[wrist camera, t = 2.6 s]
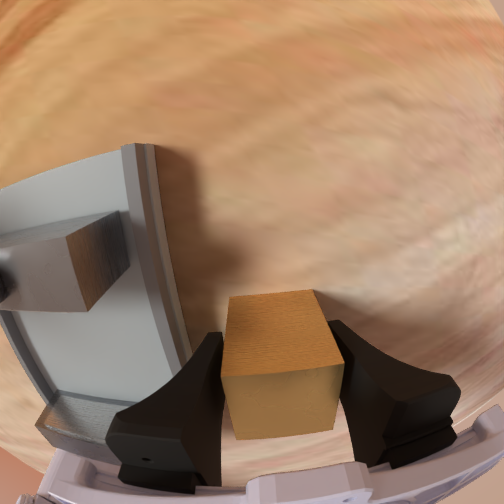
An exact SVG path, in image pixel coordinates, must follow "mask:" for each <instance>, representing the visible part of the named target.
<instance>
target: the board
mask: <svg viewBox="0 0 504 504" xmlns="http://www.w3.org/2000/svg"><path fill="white" fill-rule="evenodd" d="M115 210H119V212H120V218H121V223H122V229H123V234H124V238H125V243H126V248H127V252H128V257H129V261H130V265H131V266H130V267H129V268H128V269H127V270H126V271H125V272H124V273H123V274H122V275H121V277H120V278H119V279H118V280H117V281H116V282H115V283H114V284H113V285H112V286H111V287H110V288H109V289H108V290H107V291H106V293H105V294H104V295H103V296H102V297H101V298H100V299H99V300H98V301H97V302H96V303H95V305H94V306H93V307H92V308H91V309H90V310H89V311H88V312H74V313H63V312H31V311H11V310H0V323H1V326H2V328H3V330H4V332H5V334H6V336H7V338H8V340H9V342H10V344H11V346H12V348H13V350H14V352H15V354H16V356H17V358H18V360H19V361H20V363H21V365H22V367H23V368H24V370H25V372H26V374H27V375H28V377H29V379H30V380H31V382H32V383H33V385H34V387H35V388H36V390H37V391H38V393H39V394H40V396H41V397H42V399H43V400H44V402H45V403H46V404H48V402H49V401H50V399H51V398H52V396H53V394H54V393H55V391H56V390H57V389H59V390H64V391H68V392H73V393H78V394H84V395H89V396H95V397H102V398H109V399H116V400H124V401H134V402H140V401H142V400H143V399H145V398H147V397H148V396H150V395H151V394H153V393H154V392H156V391H157V390H158V389H160V388H161V387H162V386H164V385H165V384H166V383H167V382H168V381H170V380H171V379H172V378H173V377H174V376H175V375H176V374H177V373H178V372H179V371H180V370H181V368H182V367H183V366H184V365H185V364H186V363H187V362H188V360H189V359H190V358H191V357H192V355H193V353H192V349H191V346H190V342H189V338H188V334H187V330H186V326H185V322H184V318H183V314H182V309H181V305H180V301H179V296H178V292H177V287H176V282H175V278H174V273H173V268H172V263H171V258H170V252H169V247H168V241H167V236H166V230H165V224H164V218H163V212H162V205H161V198H160V191H159V184H158V176H157V168H156V159H155V150H154V144H139V143H133V144H129V145H124V146H121V149H120V150H115V151H111V152H108V153H104V154H100V155H96V156H93V157H89V158H86V159H82V160H79V161H76V162H72V163H69V164H66V165H63V166H60V167H57V168H54V169H51V170H48V171H45V172H43V173H40V174H37V175H34V176H32V177H29V178H27V179H24V180H22V181H19V182H17V183H14V184H12V185H9V186H7V187H5V188H2V189H0V235H2V234H6V233H10V232H14V231H18V230H22V229H26V228H30V227H35V226H39V225H43V224H48V223H52V222H57V221H62V220H67V219H72V218H77V217H82V216H87V215H92V214H98V213H103V212H109V211H115Z"/></svg>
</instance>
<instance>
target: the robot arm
mask: <svg viewBox="0 0 504 504" xmlns="http://www.w3.org/2000/svg"><path fill="white" fill-rule="evenodd" d="M327 324H328V326H329V328H330V330H331V333H332V335H333V337H334V339H335V342H336V344H337V346H338V349H339V351H340V353H341V356H342V358H343V360H344V363H345V365H344V371H343V378H342V384H341V390H340V396H339V398H340V401H341V403H342V406H343V409H344V412H345V416H346V420H347V424H348V428H349V432H350V437H351V442H352V447H353V453H354V458H355V461H353V462H345V463H339V464H334V465H329V466H324V467H318V468H312V469H306V470H299V471H291V472H281V473H273V474H267V475H261V476H258V477H256V478H253V479H251V480H250V481H248V483H247V485H246V487H222V482H221V425H222V416H223V409H224V402H225V393H224V389H223V385H222V380H221V368H222V359H223V350H224V341H223V336H222V332H210V333H208V334H207V336H206V337H205V339H204V340H203V342H202V343H201V344H200V346H199V347H198V349H197V350H196V351H195V353H194V354H193V355H192V357H191V358H190V359H189V360H188V362H187V363H186V364H185V365H184V366H183V367H182V368H181V370H180V371H179V372H178V373H177V374H176V375H175V376H174V377H173V378H172V379H171V380H170V381H168V382H167V383H166V384H165V385H164V386H162V387H161V388H160V389H158V390H157V391H156V392H154V393H153V394H151V395H150V396H148V397H147V398H145V399H143V400H142V401H140V402H138V403H136V404H134V405H132V406H130V407H128V408H126V409H124V410H122V411H119V412H117V413H116V414H115V416H114V418H113V419H112V422H111V424H110V427H109V429H108V432H107V434H106V437H105V442H106V444H107V446H108V447H109V449H110V450H111V451H112V452H113V453H114V455H115V456H116V457H117V458H118V459H119V460H120V461H121V463H122V464H121V466H117V465H113V464H108V463H104V462H100V461H97V460H93V459H90V458H86V457H83V456H80V455H76V454H73V453H70V452H67V451H64V450H62V449H59V448H57V449H56V451H55V453H54V455H53V457H52V460H51V462H50V464H49V466H48V468H47V470H46V473H45V475H44V477H43V480H42V482H41V484H40V487H39V489H38V491H37V494H36V495H33V496H31V495H29V494H26V495H25V494H24V495H20V497H19V498H18V500H17V502H16V504H436V503H438V502H439V501H441V500H443V499H445V498H446V497H448V496H450V495H451V494H453V493H455V492H456V491H458V490H460V489H461V488H463V487H465V486H466V485H468V484H469V483H471V482H472V481H474V480H476V479H477V478H478V477H480V476H482V475H483V474H485V473H486V472H487V471H489V470H490V469H492V468H493V467H494V466H495V465H496V464H497V463H498V462H499V461H500V460H501V459H502V458H503V457H504V412H503V411H502V409H501V408H500V406H499V405H498V404H496V405H494V406H493V407H491V408H490V409H488V410H486V411H485V412H483V413H482V414H480V415H479V416H478V417H477V418H476V420H475V421H474V423H473V425H472V426H471V427H469V428H467V429H465V430H463V431H462V432H460V433H458V434H456V433H455V432H454V430H453V428H452V426H451V425H452V423H453V420H452V418H451V417H450V415H451V413H452V412H453V410H454V408H455V407H456V405H457V403H458V401H459V398H460V395H461V390H460V388H459V387H458V385H457V384H456V382H455V381H454V380H453V378H452V377H451V376H450V375H446V374H440V373H435V372H430V371H426V370H423V369H419V368H416V367H413V366H411V365H408V364H406V363H403V362H401V361H399V360H396V359H394V358H392V357H390V356H389V355H387V354H385V353H383V352H381V351H380V350H378V349H377V348H375V347H374V346H372V345H371V344H369V343H368V342H366V341H365V340H364V339H362V338H361V337H360V336H358V335H357V334H356V333H354V332H353V331H352V330H351V329H350V328H348V327H347V326H346V325H345V324H344V323H342V322H341V321H340V320H334V321H327Z"/></svg>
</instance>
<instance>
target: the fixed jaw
mask: <svg viewBox="0 0 504 504" xmlns="http://www.w3.org/2000/svg"><path fill="white" fill-rule="evenodd" d="M136 403H138V402H134V401H124V400H116V399H109V398H102V397H95V396H89V395H84V394H78V393H73V392H68V391H64V390H59V389H57V390H56V391H55V393H54V394H53V396H52V398H51V399H50V401H49V402H48V404H47V406H46V407H45V409H44V410H43V412H42V414H41V415H40V417H39V419H38V420H37V422H36V424H35V426H36V428H37V429H38V430H39V431H40V432H41V434H42V435H43V436H44V437H45V438H46V439H47V440H48V441H49V443H50V444H51V445H52V446H53V447H56V448H59V449H62V450H64V451H67V452H70V453H73V454H76V455H80V456H83V457H86V458H90V459H93V460H97V461H100V462H104V463H108V464H113V465H117V466H121V464H122V463H121V461H120V460H119V459H118V458H117V457H116V456H115V455H114V453H113V452H112V451H111V450H110V449H109V447H108V446H107V444H106V442H105V437H106V434H107V432H108V429H109V427H110V424H111V422H112V419H113V418H114V416H115V414H116V413H117V412H119V411H122V410H124V409H126V408H128V407H130V406H132V405H134V404H136Z"/></svg>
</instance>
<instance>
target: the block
mask: <svg viewBox="0 0 504 504" xmlns="http://www.w3.org/2000/svg"><path fill="white" fill-rule="evenodd" d="M344 365H345V363H344V360H343V358H342V356H341V353H340V351H339V349H338V346H337V344H336V342H335V339H334V337H333V335H332V333H331V330H330V328H329V326H328V324H327V321H326V319H325V317H324V315H323V312H322V310H321V308H320V306H319V304H318V301H317V299H316V297H315V295H314V293H313V290H312V289H309V290H300V291H290V292H280V293H270V294H259V295H247V296H235V297H229V306H228V314H227V323H226V332H225V341H224V350H223V359H222V368H221V380H222V385H223V389H224V393H225V397H226V401H227V405H228V409H229V413H230V417H231V421H232V425H233V429H234V433H235V437H236V440H250V439H266V438H277V437H287V436H295V435H303V434H310V433H316V432H322V431H328V430H333V426H334V422H335V417H336V412H337V407H338V401H339V396H340V390H341V384H342V378H343V371H344Z"/></svg>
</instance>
